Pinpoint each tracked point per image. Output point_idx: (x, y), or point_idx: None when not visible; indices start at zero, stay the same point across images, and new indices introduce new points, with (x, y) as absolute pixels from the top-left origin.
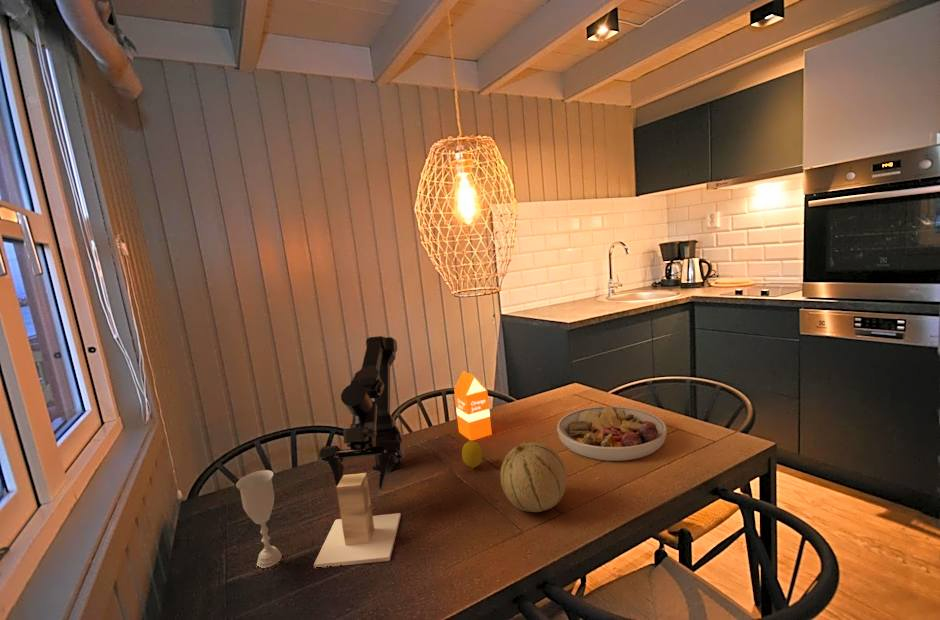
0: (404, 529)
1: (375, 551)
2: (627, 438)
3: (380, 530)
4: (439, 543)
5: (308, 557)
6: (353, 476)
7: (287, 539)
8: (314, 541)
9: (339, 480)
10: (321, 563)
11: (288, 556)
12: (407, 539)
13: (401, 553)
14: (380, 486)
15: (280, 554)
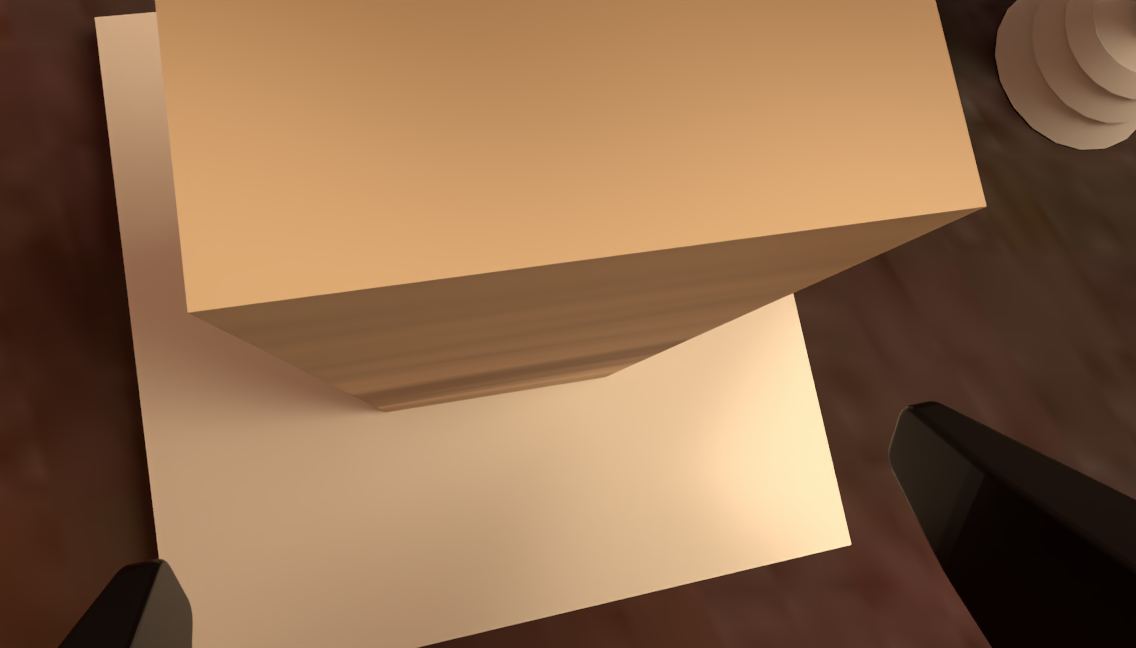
0: (84, 464)
1: None
2: None
3: (309, 382)
4: None
5: None
6: (597, 88)
7: (1110, 301)
8: (880, 278)
9: (1064, 538)
10: None
11: (973, 109)
12: (11, 311)
13: (24, 123)
14: (125, 576)
15: (1039, 91)
